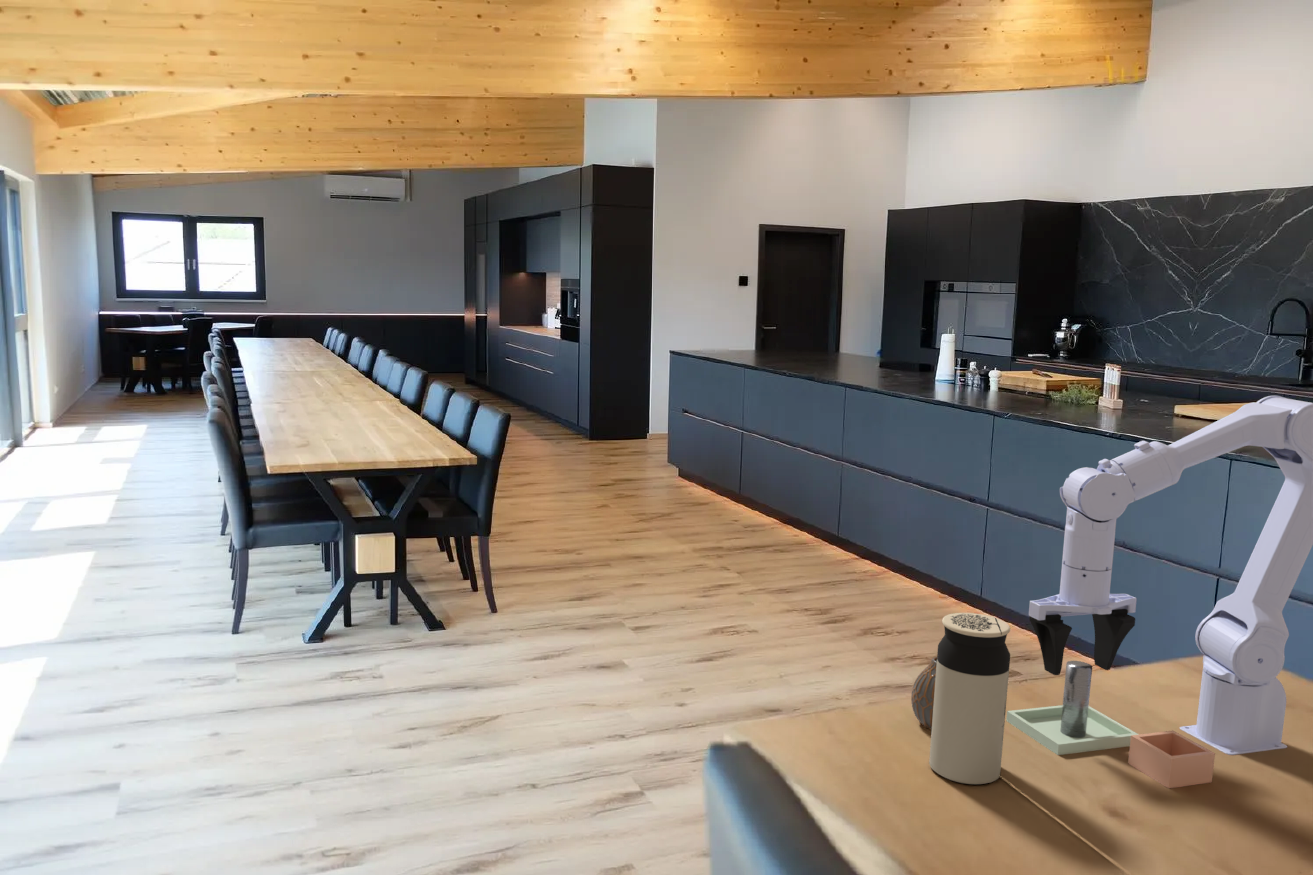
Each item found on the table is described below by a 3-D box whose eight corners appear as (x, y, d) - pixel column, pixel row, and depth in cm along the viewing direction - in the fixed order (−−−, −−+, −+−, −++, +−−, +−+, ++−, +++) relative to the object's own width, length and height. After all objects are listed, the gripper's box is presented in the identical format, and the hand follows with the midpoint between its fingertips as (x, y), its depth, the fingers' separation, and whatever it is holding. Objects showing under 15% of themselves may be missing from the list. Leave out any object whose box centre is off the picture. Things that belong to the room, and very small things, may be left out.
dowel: (1073, 726, 129) (1079, 659, 128) (1091, 736, 126) (1097, 667, 125) (1055, 729, 128) (1061, 662, 127) (1072, 739, 125) (1079, 670, 124)
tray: (1082, 715, 134) (1083, 702, 134) (1138, 748, 124) (1139, 734, 124) (1005, 724, 130) (1007, 710, 130) (1057, 758, 121) (1058, 744, 121)
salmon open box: (1169, 761, 121) (1173, 730, 121) (1211, 785, 115) (1215, 753, 115) (1127, 767, 119) (1131, 735, 119) (1167, 792, 113) (1171, 758, 113)
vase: (967, 739, 126) (972, 672, 124) (910, 732, 127) (915, 666, 126) (962, 716, 132) (967, 653, 131) (908, 711, 134) (913, 648, 132)
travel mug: (925, 778, 115) (937, 627, 112) (932, 749, 122) (942, 607, 120) (999, 792, 112) (1012, 638, 110) (1000, 762, 120) (1013, 617, 117)
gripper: (1059, 577, 118) (1050, 686, 120) (1158, 570, 123) (1148, 676, 125) (1021, 561, 125) (1013, 665, 127) (1116, 555, 129) (1107, 656, 131)
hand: (1077, 669), depth 126 cm, fingers open, 7 cm apart
